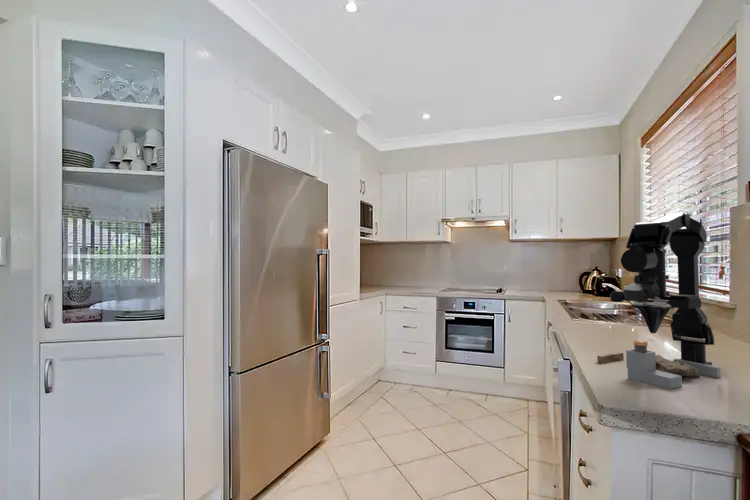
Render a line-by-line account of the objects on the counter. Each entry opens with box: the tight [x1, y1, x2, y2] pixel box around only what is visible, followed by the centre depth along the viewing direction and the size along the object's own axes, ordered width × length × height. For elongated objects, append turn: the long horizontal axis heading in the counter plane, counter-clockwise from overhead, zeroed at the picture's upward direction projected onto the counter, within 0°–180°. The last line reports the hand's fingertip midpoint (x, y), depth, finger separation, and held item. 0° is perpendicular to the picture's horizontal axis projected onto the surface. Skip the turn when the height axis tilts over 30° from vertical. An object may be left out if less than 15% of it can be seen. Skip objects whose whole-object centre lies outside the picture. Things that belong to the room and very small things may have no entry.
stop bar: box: [596, 351, 625, 364], centre depth 118 cm, size 10×1×2 cm, turn 116°
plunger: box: [633, 340, 648, 353], centre depth 100 cm, size 3×3×6 cm
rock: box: [655, 354, 701, 378], centre depth 104 cm, size 11×12×4 cm
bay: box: [625, 348, 721, 390], centre depth 101 cm, size 22×10×7 cm, turn 115°
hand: (653, 333), depth 99 cm, fingers closed
